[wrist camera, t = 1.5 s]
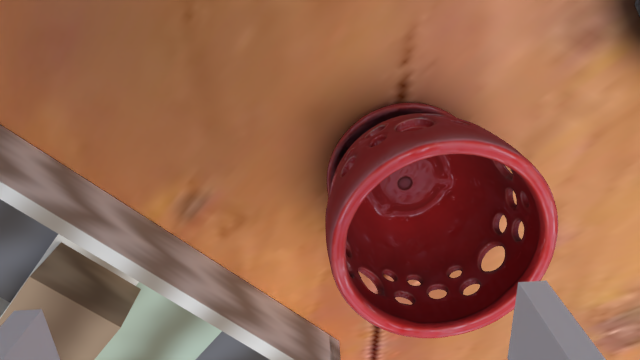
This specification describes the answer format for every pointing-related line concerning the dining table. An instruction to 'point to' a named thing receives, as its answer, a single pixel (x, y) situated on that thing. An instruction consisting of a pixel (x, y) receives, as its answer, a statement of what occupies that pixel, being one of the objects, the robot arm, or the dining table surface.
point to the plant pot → (433, 220)
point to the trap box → (140, 270)
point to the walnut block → (76, 302)
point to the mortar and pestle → (637, 6)
